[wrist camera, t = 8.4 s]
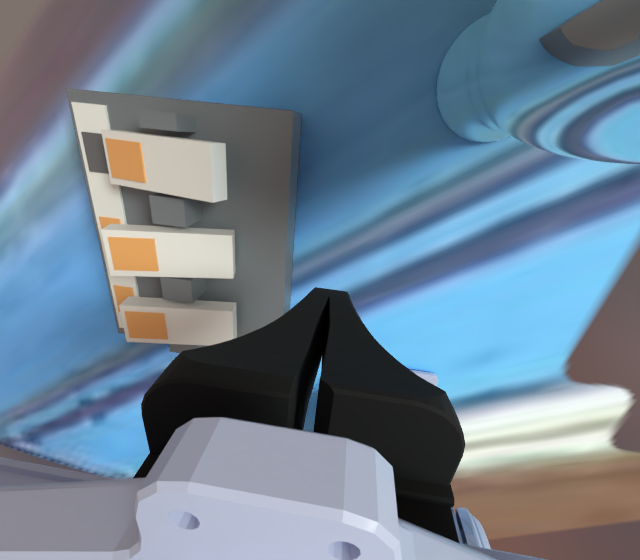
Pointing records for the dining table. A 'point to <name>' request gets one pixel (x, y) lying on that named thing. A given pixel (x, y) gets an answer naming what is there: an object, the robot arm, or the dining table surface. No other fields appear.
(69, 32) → the dining table surface
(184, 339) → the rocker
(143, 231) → the rocker middle
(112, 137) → the rocker
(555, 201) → the dining table surface
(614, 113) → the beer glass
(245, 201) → the switch unit
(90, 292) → the dining table surface
